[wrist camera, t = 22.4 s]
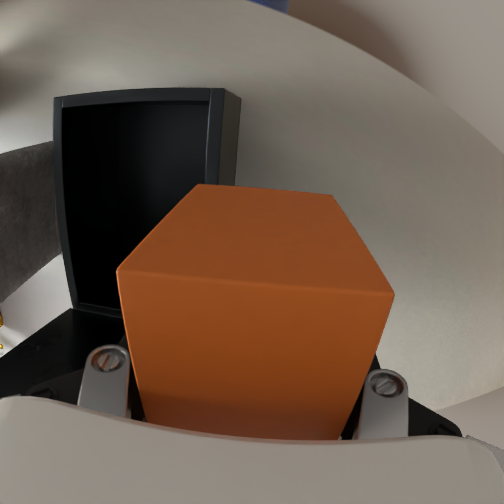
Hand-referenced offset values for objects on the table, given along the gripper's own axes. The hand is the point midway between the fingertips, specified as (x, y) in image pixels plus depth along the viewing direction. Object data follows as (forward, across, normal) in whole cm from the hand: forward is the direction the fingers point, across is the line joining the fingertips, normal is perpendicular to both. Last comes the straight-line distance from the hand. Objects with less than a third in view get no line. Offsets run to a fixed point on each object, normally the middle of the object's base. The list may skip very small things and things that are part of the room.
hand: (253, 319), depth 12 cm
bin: (+21, +9, 0) cm, 23 cm away
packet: (+2, 0, 0) cm, 2 cm away
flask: (+21, +25, +2) cm, 33 cm away
